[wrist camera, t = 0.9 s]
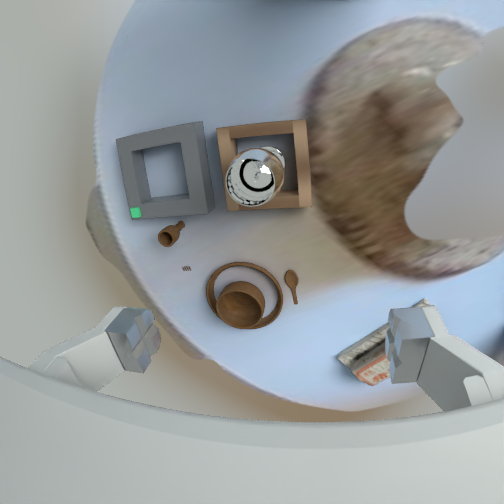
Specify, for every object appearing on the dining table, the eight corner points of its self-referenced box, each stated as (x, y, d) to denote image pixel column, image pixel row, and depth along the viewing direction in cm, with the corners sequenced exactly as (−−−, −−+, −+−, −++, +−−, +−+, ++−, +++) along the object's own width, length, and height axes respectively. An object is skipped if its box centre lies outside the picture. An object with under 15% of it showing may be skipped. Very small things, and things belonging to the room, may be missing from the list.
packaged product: (433, 312, 38) (455, 347, 40) (424, 294, 43) (447, 329, 44) (337, 372, 46) (368, 399, 48) (336, 352, 50) (366, 379, 52)
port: (127, 136, 40) (114, 139, 37) (202, 121, 38) (193, 122, 35) (141, 213, 45) (130, 220, 42) (214, 207, 43) (207, 214, 40)
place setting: (204, 324, 53) (193, 346, 48) (168, 216, 45) (150, 231, 40) (304, 319, 48) (302, 343, 43) (284, 197, 41) (280, 210, 36)
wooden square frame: (223, 127, 38) (216, 128, 35) (305, 119, 35) (305, 119, 33) (233, 204, 42) (227, 211, 39) (312, 200, 40) (311, 207, 37)
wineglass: (267, 193, 40) (249, 224, 30) (237, 161, 39) (207, 181, 29) (299, 164, 38) (294, 185, 27) (268, 131, 37) (250, 138, 26)
